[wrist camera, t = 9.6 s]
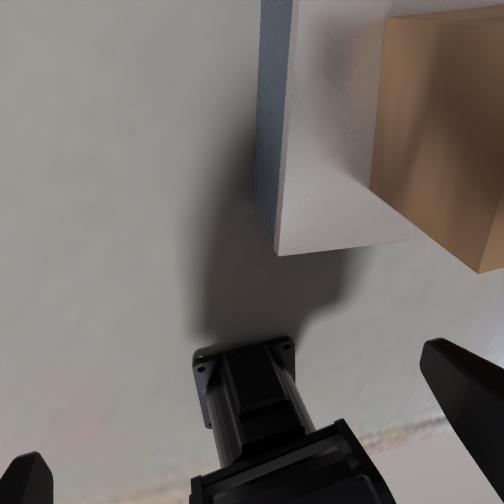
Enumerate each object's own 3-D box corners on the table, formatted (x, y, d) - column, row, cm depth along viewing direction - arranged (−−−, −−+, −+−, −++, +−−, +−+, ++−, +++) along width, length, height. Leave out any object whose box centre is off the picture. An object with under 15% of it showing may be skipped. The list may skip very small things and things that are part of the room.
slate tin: (450, 188, 24) (518, 227, 20) (246, 205, 21) (278, 256, 17) (535, -82, 17) (662, -106, 13) (257, -116, 14) (313, -160, 10)
